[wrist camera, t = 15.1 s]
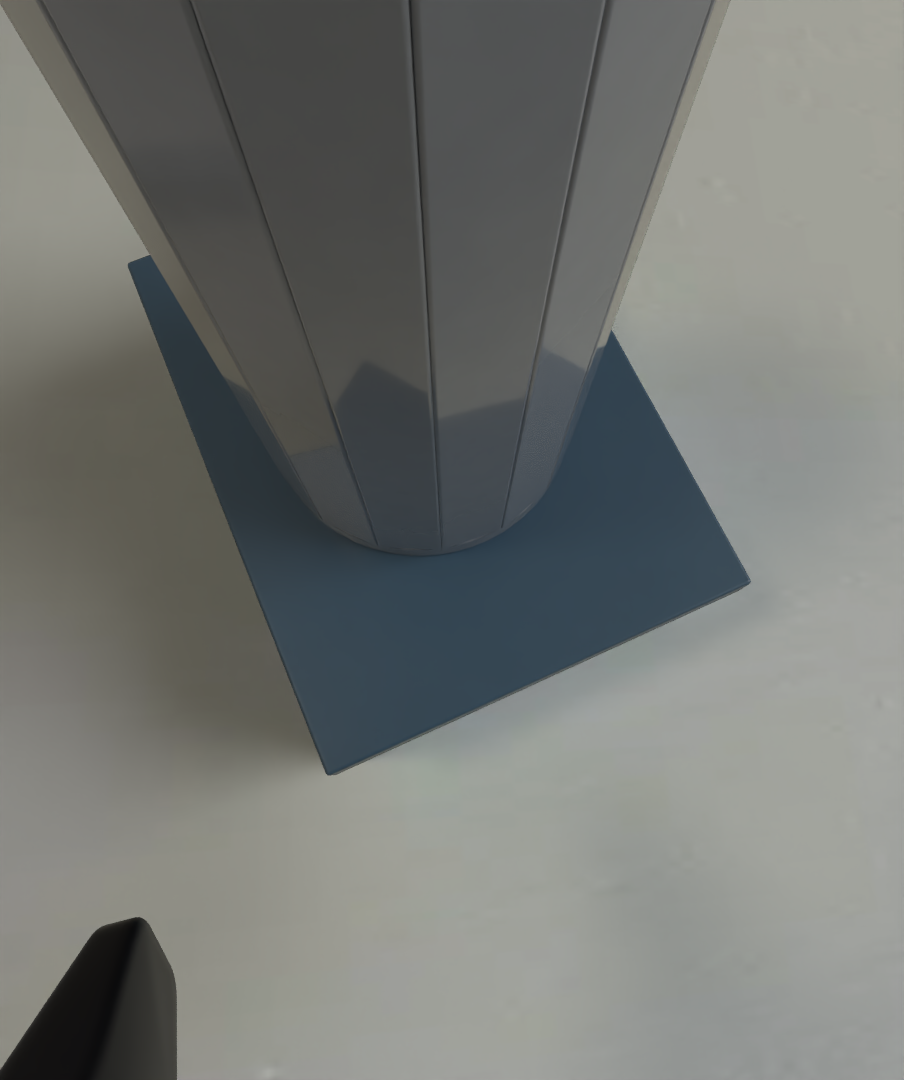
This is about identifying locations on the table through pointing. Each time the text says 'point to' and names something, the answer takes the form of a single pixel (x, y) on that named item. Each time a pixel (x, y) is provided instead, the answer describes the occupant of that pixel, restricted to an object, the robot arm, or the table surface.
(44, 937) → the table surface
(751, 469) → the table surface
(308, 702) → the container
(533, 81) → the cup
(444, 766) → the table surface
